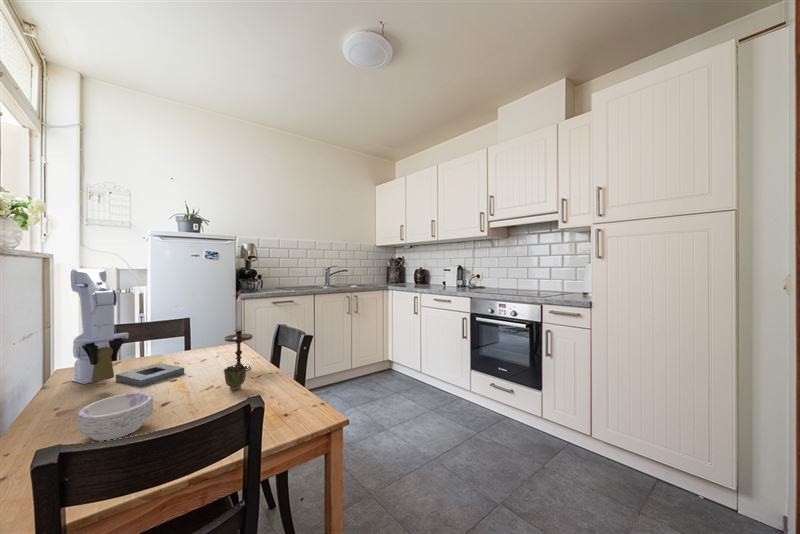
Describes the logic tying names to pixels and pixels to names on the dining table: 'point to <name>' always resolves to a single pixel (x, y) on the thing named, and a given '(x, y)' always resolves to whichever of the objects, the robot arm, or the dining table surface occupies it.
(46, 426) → the dining table surface
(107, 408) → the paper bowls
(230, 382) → the cup
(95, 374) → the olive tapered cylinder
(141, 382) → the plate
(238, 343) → the candlestick
